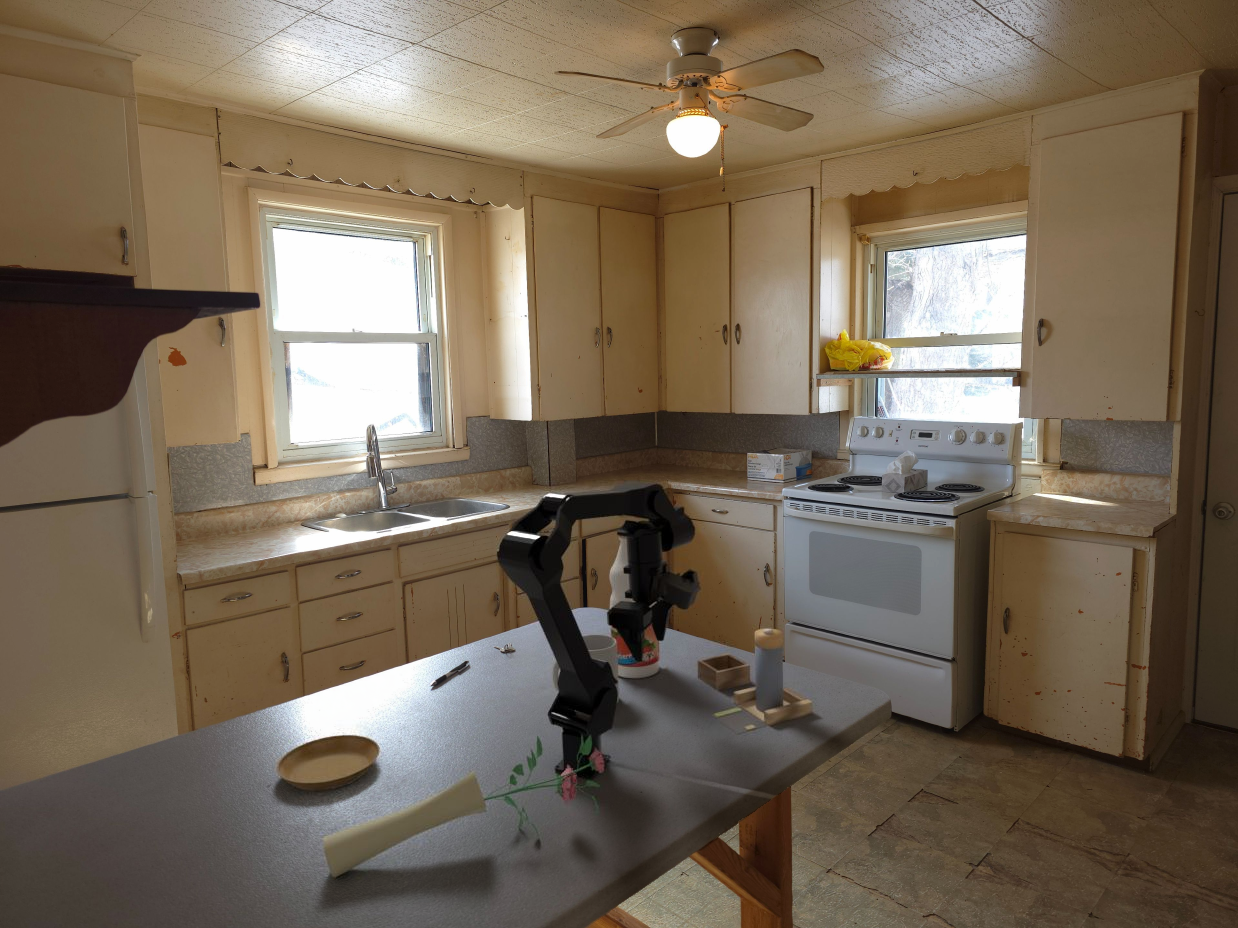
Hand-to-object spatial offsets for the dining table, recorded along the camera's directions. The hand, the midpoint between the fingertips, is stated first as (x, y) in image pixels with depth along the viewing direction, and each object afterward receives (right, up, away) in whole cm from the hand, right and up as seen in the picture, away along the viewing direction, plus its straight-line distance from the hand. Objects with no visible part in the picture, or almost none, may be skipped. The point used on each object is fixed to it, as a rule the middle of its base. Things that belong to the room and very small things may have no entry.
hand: (649, 650), depth 132 cm
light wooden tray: (+21, -12, +5) cm, 25 cm away
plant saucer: (-49, -17, -10) cm, 53 cm away
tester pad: (+15, -12, +1) cm, 19 cm away
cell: (+21, -11, +5) cm, 24 cm away
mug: (-11, -12, +11) cm, 20 cm away
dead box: (+14, -10, +18) cm, 25 cm away
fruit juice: (-2, -10, +26) cm, 28 cm away
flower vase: (-24, -18, -30) cm, 42 cm away
